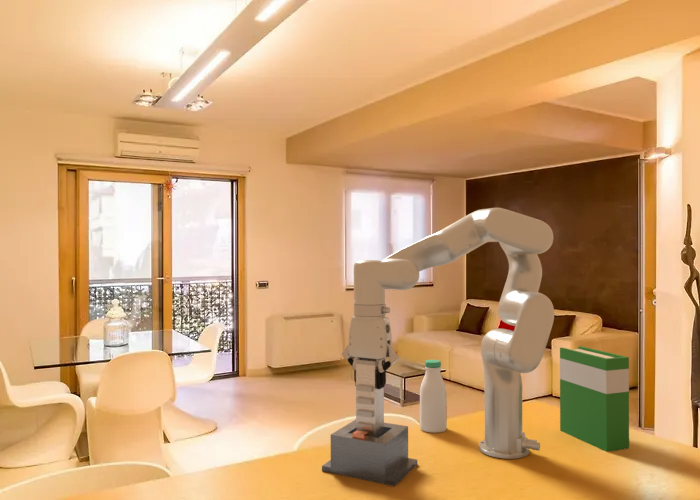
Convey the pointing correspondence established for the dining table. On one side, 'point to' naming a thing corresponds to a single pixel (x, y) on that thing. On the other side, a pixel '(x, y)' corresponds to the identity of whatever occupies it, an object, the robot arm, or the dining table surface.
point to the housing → (371, 454)
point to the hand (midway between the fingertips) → (370, 385)
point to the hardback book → (595, 397)
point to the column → (369, 399)
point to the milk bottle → (433, 399)
